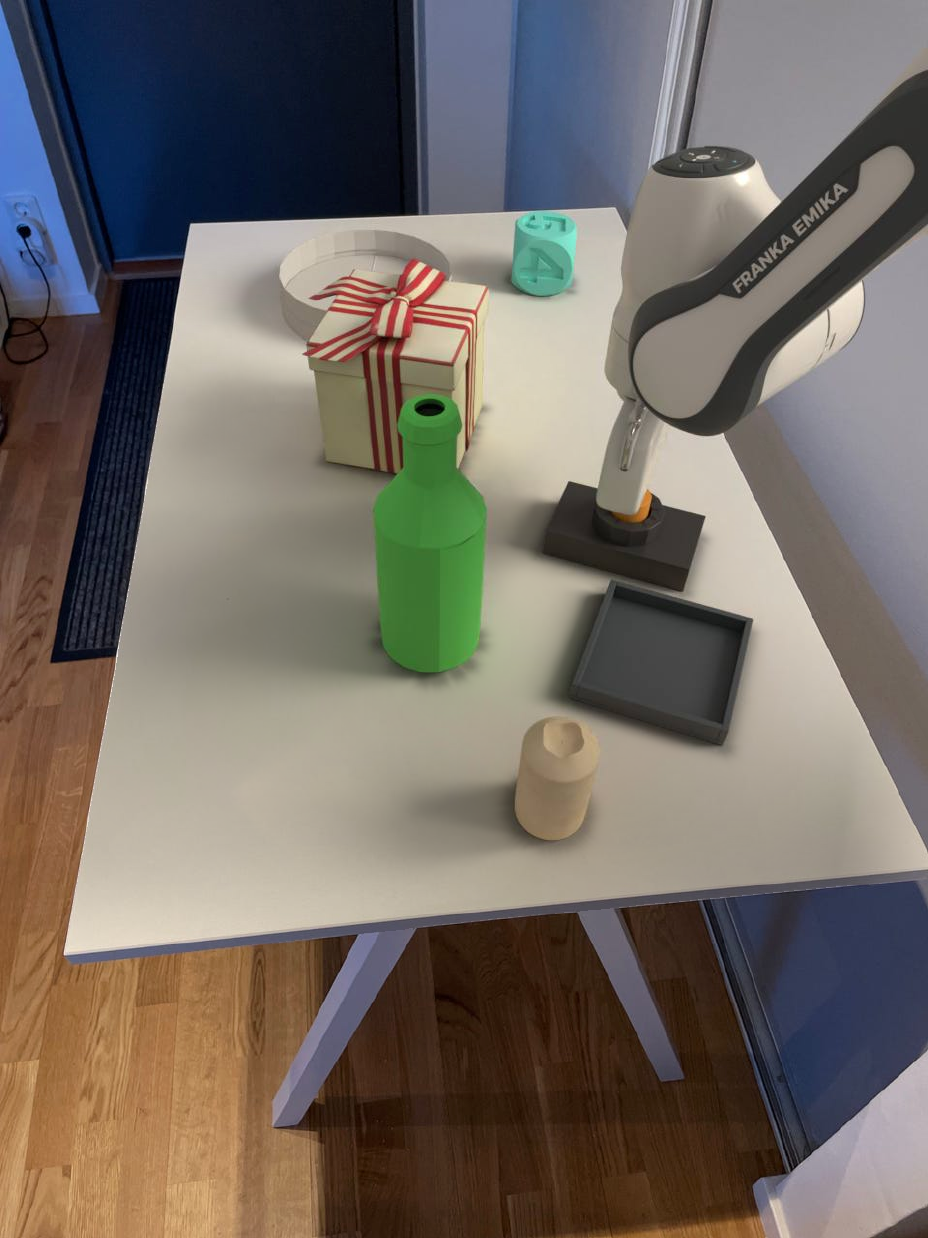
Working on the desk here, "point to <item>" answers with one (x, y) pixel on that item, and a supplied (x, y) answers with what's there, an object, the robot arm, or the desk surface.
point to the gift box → (394, 359)
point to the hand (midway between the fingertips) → (632, 487)
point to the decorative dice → (544, 253)
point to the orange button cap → (640, 514)
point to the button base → (624, 538)
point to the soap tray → (664, 661)
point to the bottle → (430, 544)
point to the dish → (344, 269)
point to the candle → (555, 777)
